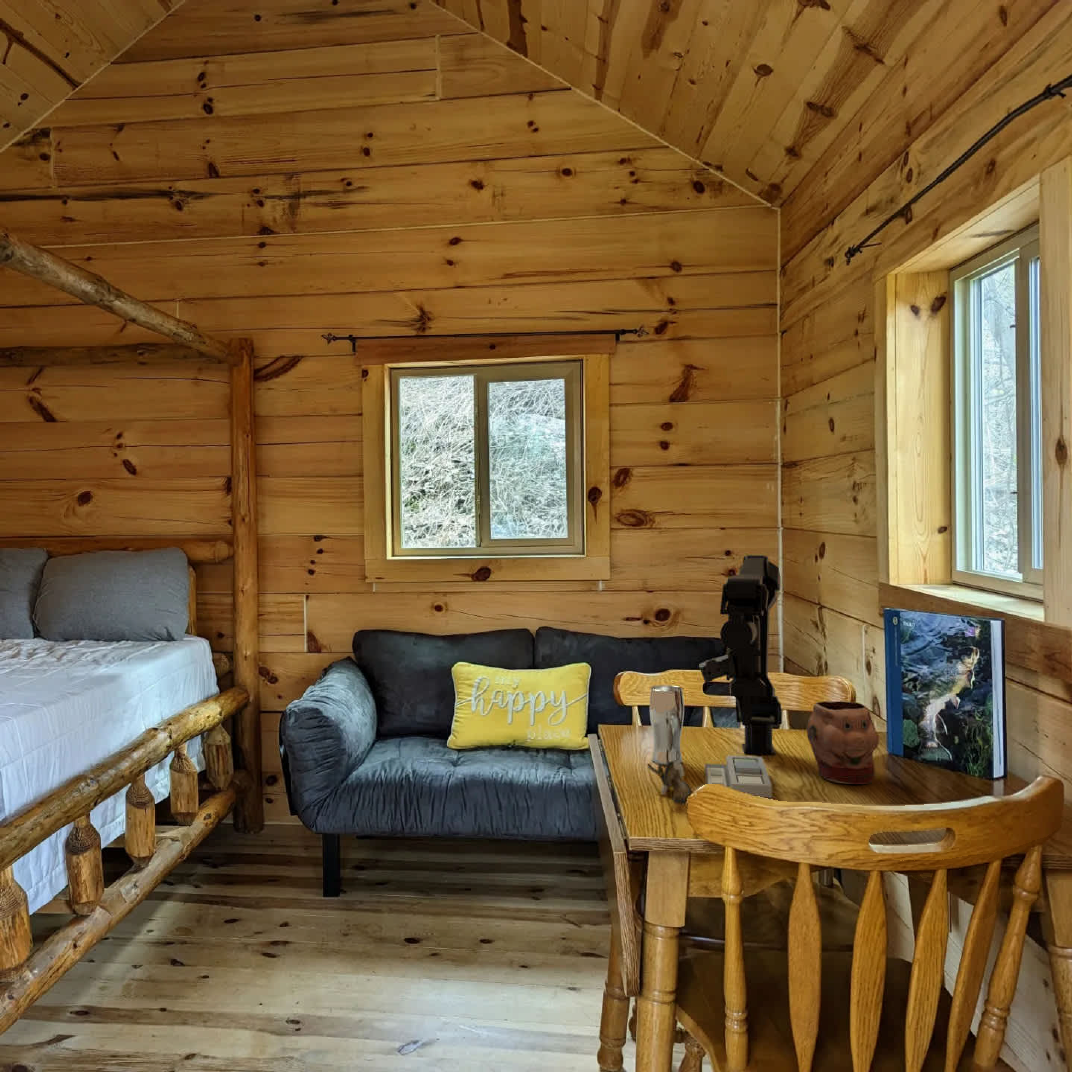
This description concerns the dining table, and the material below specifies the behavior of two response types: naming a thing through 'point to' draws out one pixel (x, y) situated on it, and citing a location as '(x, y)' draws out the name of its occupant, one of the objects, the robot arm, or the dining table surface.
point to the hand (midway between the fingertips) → (745, 725)
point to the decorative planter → (843, 741)
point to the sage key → (743, 760)
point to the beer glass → (666, 722)
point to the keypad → (730, 777)
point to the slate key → (747, 767)
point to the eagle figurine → (673, 781)
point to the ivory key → (749, 779)
